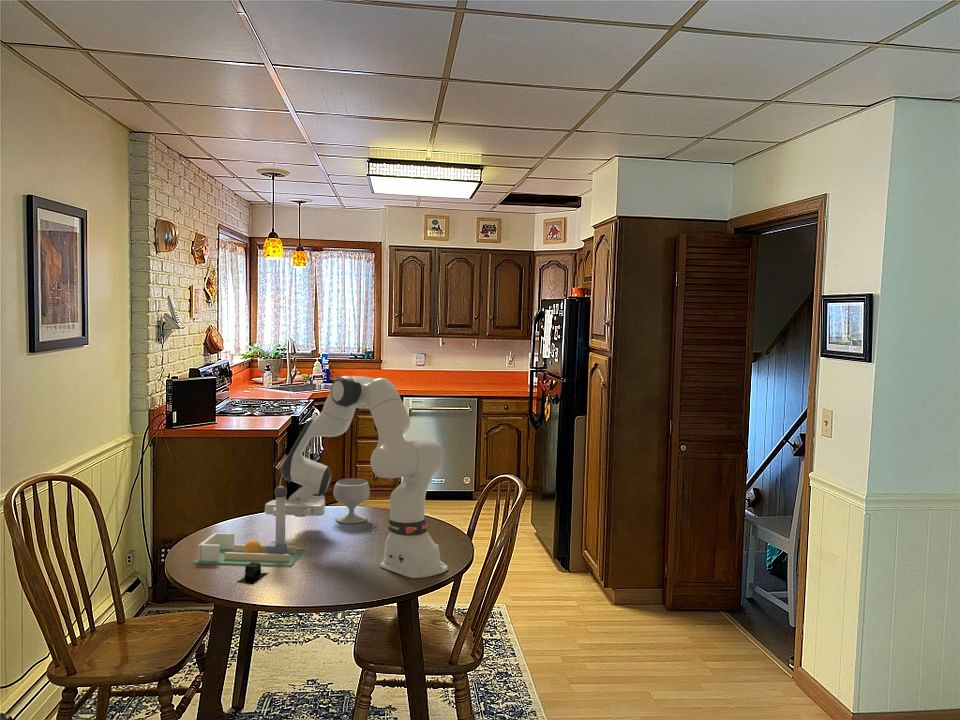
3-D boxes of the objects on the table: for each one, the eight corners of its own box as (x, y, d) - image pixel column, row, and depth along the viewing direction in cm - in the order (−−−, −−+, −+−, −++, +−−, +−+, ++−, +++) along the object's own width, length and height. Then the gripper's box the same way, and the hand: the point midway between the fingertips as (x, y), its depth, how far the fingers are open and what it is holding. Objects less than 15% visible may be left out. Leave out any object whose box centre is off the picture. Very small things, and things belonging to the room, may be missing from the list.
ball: (263, 556, 229) (263, 540, 229) (247, 558, 226) (247, 543, 226) (257, 551, 233) (257, 536, 233) (242, 554, 230) (242, 539, 230)
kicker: (288, 552, 232) (289, 484, 230) (283, 557, 227) (284, 488, 225) (271, 551, 232) (272, 483, 230) (266, 556, 227) (267, 487, 225)
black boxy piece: (253, 571, 218) (253, 556, 218) (274, 573, 217) (274, 558, 216) (230, 585, 206) (230, 570, 206) (253, 588, 205) (253, 572, 204)
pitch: (305, 550, 237) (305, 548, 237) (291, 566, 221) (291, 565, 221) (213, 547, 238) (213, 545, 238) (193, 563, 222) (193, 562, 222)
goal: (298, 550, 236) (298, 535, 235) (286, 563, 223) (286, 547, 222) (214, 547, 236) (214, 532, 236) (198, 560, 223) (198, 545, 223)
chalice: (371, 524, 269) (372, 485, 268) (334, 526, 265) (335, 486, 264) (367, 514, 282) (367, 477, 282) (331, 516, 278) (332, 478, 278)
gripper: (271, 493, 251) (258, 503, 238) (328, 495, 251) (318, 505, 237) (271, 511, 252) (258, 522, 238) (328, 513, 251) (318, 524, 237)
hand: (289, 514), depth 237 cm, fingers open, 8 cm apart
